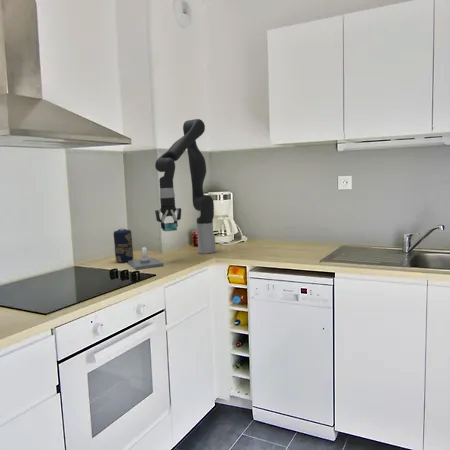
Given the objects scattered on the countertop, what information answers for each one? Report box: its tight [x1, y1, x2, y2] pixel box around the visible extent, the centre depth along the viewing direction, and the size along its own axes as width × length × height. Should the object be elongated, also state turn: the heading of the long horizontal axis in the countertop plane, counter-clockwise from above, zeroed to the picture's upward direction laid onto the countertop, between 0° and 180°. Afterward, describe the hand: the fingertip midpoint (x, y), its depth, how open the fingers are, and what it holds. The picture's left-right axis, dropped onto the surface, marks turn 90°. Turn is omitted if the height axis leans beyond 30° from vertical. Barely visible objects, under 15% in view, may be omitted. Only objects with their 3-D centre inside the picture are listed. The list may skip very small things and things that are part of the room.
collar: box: [161, 222, 178, 232], centre depth 221 cm, size 6×6×4 cm
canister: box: [113, 228, 134, 263], centre depth 229 cm, size 10×10×18 cm
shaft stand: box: [127, 246, 165, 271], centre depth 217 cm, size 14×18×9 cm
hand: (169, 228), depth 221 cm, fingers closed on collar, 6 cm apart
